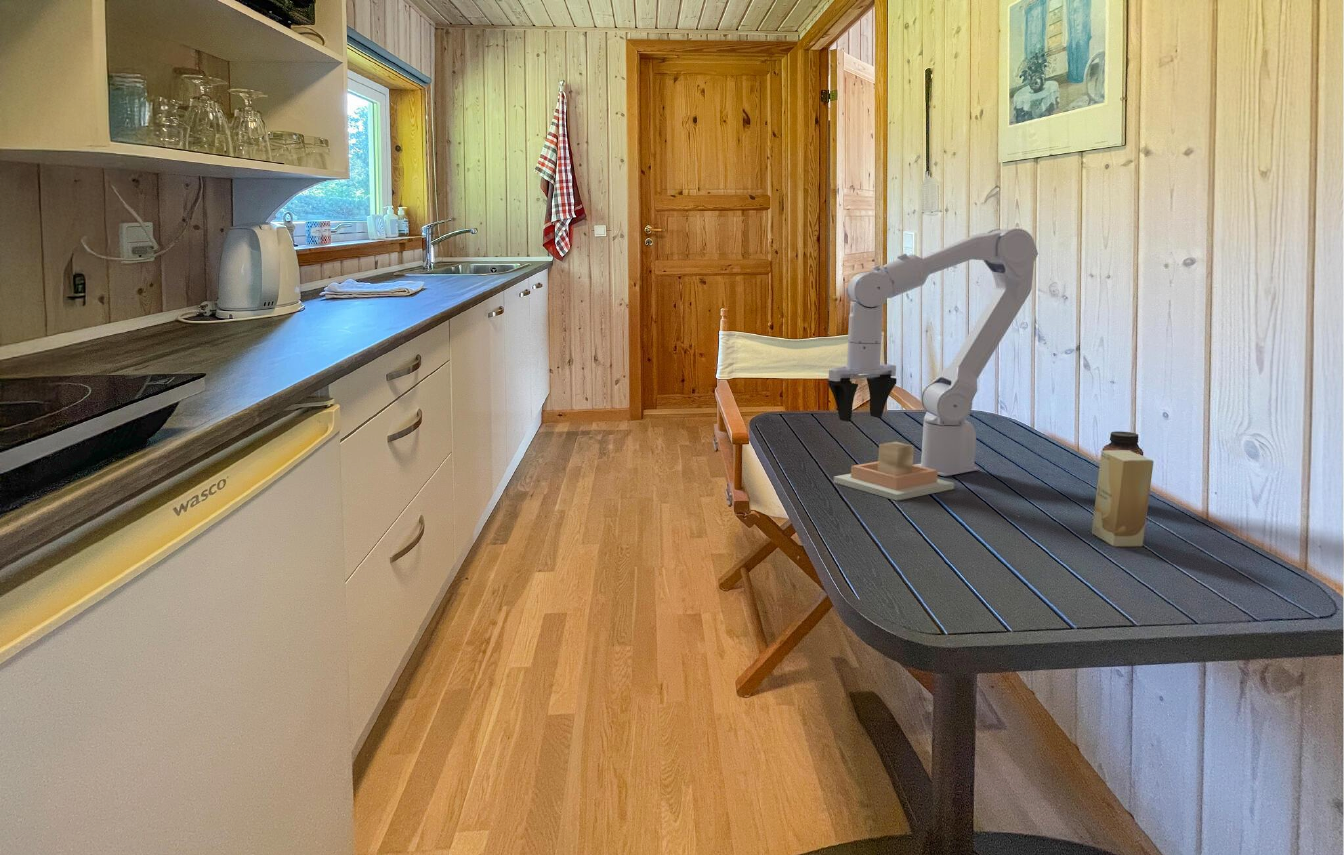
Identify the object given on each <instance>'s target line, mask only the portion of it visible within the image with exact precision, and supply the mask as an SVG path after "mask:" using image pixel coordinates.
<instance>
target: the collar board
mask: <svg viewBox="0 0 1344 855" xmlns="http://www.w3.org/2000/svg"><path fill="white" fill-rule="evenodd" d="M850 467H851V469H850V470H851V471H850V473H845V474H842V475H840V474H839V475H835V476H833V483H834V484H837V485H842V486H846V487H849V488H852V489H856V490H859V491H862V492H866V493H869V494H873V495H876V496H880V497H882V498H886V499H890V500H894V501H902V500H907V499H912V498H916V497H921V496H925V495H931V494H934V493H941V492H944V491H950V490H954V489H955V482H952V481H948V480H944V479H941V478H938V475H937V472H938V470H934V469H930V468H926V467H922V466H918V465H915V463H913V468H912V473H910V474H904V475H899V476H894V475H891V474H887V473H883V472H879V471H878V461H873V462H866V463H861V464H855V465H851V466H850Z"/></svg>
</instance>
